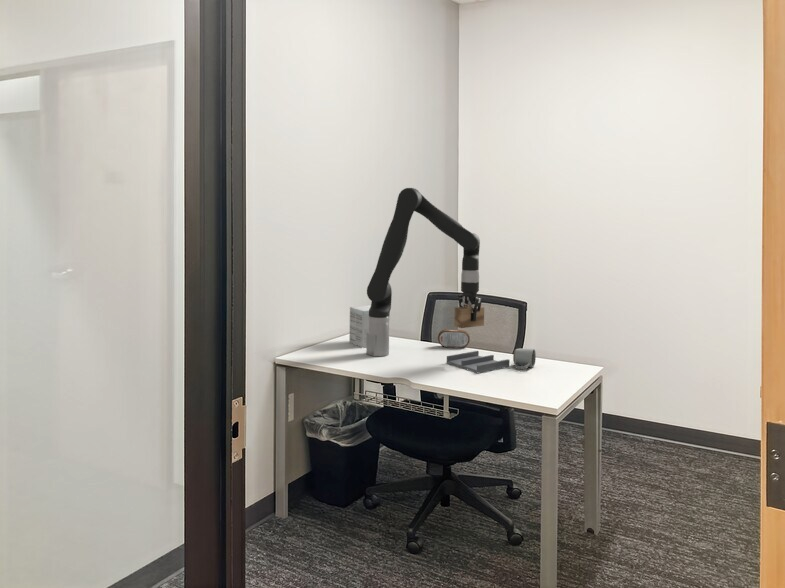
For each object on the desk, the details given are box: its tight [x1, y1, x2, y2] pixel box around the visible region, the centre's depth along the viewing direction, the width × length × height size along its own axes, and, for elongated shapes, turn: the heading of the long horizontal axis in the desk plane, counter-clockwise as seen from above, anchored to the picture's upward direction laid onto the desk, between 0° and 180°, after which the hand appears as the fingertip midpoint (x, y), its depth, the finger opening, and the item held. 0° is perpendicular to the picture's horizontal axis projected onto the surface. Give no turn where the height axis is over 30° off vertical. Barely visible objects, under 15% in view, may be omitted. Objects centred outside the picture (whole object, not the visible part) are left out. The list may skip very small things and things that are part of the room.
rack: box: [446, 350, 510, 374], centre depth 258 cm, size 18×19×3 cm
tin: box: [437, 328, 471, 349], centre depth 290 cm, size 15×3×8 cm, turn 84°
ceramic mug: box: [512, 348, 537, 371], centre depth 256 cm, size 11×8×8 cm
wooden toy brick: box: [453, 305, 485, 329], centre depth 262 cm, size 5×12×8 cm, turn 121°
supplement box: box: [348, 304, 371, 348], centre depth 293 cm, size 13×13×18 cm
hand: (469, 320), depth 262 cm, fingers closed on wooden toy brick, 5 cm apart
